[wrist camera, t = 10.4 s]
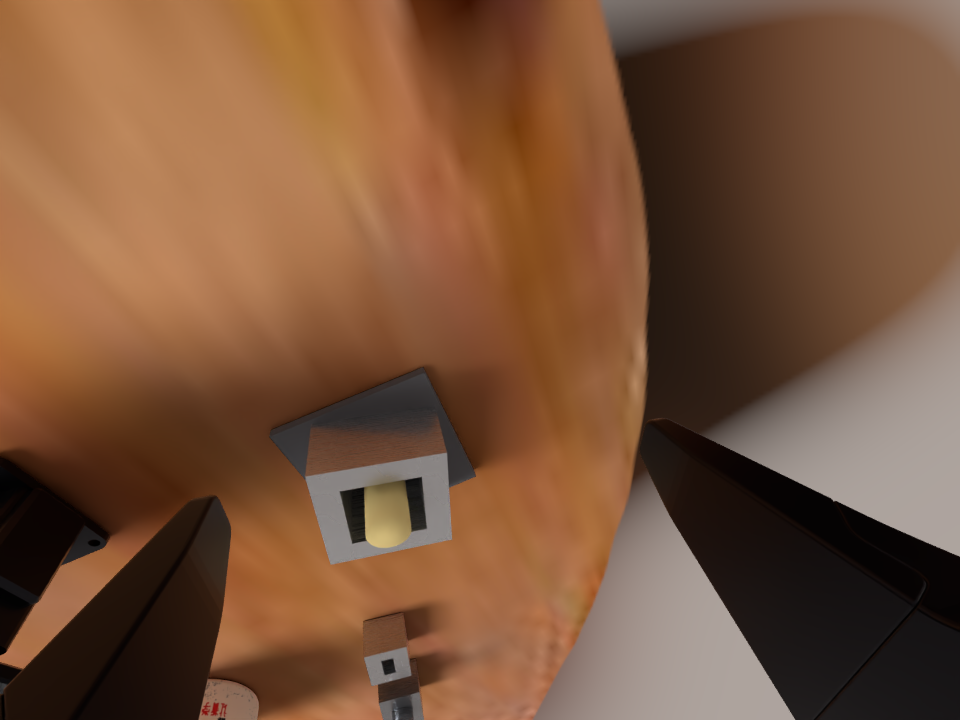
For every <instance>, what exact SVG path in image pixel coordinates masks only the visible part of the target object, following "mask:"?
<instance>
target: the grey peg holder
mask: <svg viewBox="0 0 960 720" xmlns="http://www.w3.org/2000/svg"><path fill="white" fill-rule="evenodd" d="M429 406H435V408H436V412H437V416H438V420H439V424H440V428H441V432H442V435H443V439H444V443H445V447H446V451H447V463H448V480H449V487H452V486H454V485H457V484H459V483H461V482H464V481H466V480H468V479H471V478H473V477H476V475H475V472H474V469H473V467H472V465H471V463H470V461H469V459H468V457H467V455H466V453H465V451H464V449H463V447H462V445H461V443H460V441H459V439H458V437H457V435H456V433H455V431H454V428H453V426H452V424H451V422H450V420H449V418H448V416H447V414H446V412H445V410H444V408H443V406H442V404H441V402H440V400H439V398H438V396H437V394H436V392H435V390H434V388H433V386H432V384H431V382H430V380H429V378H428V376H427V374H426V372H425V370H424V368H423V367H422V368H420V369H417V370H415V371H413V372H410V373H408V374H405V375H403V376H401V377H398V378H396V379H393V380H391V381H389V382H386V383H384V384H381V385H379V386H376V387H374V388H372V389H369V390H367V391H364V392H362V393H360V394H357V395H355V396H352V397H350V398H347V399H345V400H343V401H340V402H338V403H335V404H333V405H331V406H328V407H326V408H323V409H321V410H318V411H316V412H314V413H311V414H309V415H306V416H304V417H302V418H299V419H297V420H294V421H292V422H290V423H287V424H285V425H282V426H280V427H277V428H275V429H273V430H271V432H270V436H269V437H270V438H271V440H272V441H273V442H274V443H275V444H276V446H277V447H278V448H279V449H280V450H281V451H282V453H283V454H284V455H285V456H286V457H287V459H288V460H289V461H290V462H291V463H292V465H293V466H294V467H295V468H296V469H297V471H298V472H299V473H300V474H301V475H302V476H303V478H304V479H305V480H306V478H305V473H306V464H307V456H308V447H309V439H310V430H311V424H315V423H321V422H328V421H335V420H342V419H348V418H355V417H362V416H369V415H375V414H382V413H389V412H396V411H402V410H409V409H416V408H423V407H429ZM364 501H365V535H366V540H367V541H368V542H369V543H370V544H371V545H373V546H375V547H379V548H389V547H394V546H397V545H399V544H401V543H403V542H404V541H406V540H407V539H408V537H409V536H410V534H411V530H412V529H411V521H410V514H409V506H408V499H407V491H406V483H405V480H401V481H396V482H390V483H384V484H379V485H373V486H368V487H364Z"/></svg>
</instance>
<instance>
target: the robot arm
mask: <svg viewBox="0 0 960 720" xmlns="http://www.w3.org/2000/svg"><path fill="white" fill-rule="evenodd" d="M640 454H641V458H642V460H643V462H644V464H645V466H646V468H647V470H648V472H649V474H650V476H651V479H652V481H653V483H654V485H655V487H656V489H657V491H658V493H659V495H660V497H661V499H662V501H663V503H664V505H665V507H666V509H667V511H668V513H669V515H670V517H671V518H672V520H673V522H674V524H675V525H676V527H677V529H678V530H679V532H680V533H681V535H682V537H683V538H684V540H685V542H686V543H687V545H688V546H689V548H690V550H691V551H692V553H693V555H694V556H695V558H696V559H697V561H698V563H699V564H700V566H701V567H702V569H703V571H704V572H705V574H706V576H707V577H708V579H709V581H710V582H711V583H712V585H713V587H714V589H715V590H716V592H717V593H718V595H719V597H720V598H721V600H722V601H723V603H724V605H725V606H726V608H727V610H728V611H729V613H730V615H731V616H732V618H733V619H734V621H735V623H736V624H737V626H738V627H739V629H740V631H741V632H742V634H743V636H744V637H745V639H746V641H747V642H748V644H749V645H750V647H751V649H752V650H753V652H754V653H755V655H756V657H757V658H758V660H759V661H760V663H761V665H762V666H763V668H764V670H765V671H766V673H767V675H768V676H769V678H770V679H771V681H772V683H773V684H774V686H775V688H776V689H777V691H778V692H779V694H780V696H781V697H782V699H783V701H784V702H785V704H786V705H787V707H788V708H789V710H790V712H791V713H792V715H793V717H794V718H795V720H960V557H959V556H957V555H954V554H952V553H950V552H947V551H945V550H943V549H940V548H938V547H936V546H933V545H931V544H929V543H926V542H924V541H922V540H919V539H917V538H915V537H913V536H910V535H908V534H906V533H903V532H901V531H899V530H897V529H894V528H892V527H890V526H888V525H885V524H883V523H881V522H879V521H877V520H875V519H873V518H870V517H868V516H866V515H864V514H862V513H860V512H858V511H856V510H854V509H852V508H849V507H847V506H846V505H843V504H841V503H839V502H837V501H834V502H833V500H832V499H831V498H829V497H827V496H825V495H823V494H821V493H819V492H816V491H814V490H812V489H810V488H808V487H806V486H804V485H802V484H800V483H798V482H796V481H794V480H792V479H790V478H788V477H786V476H784V475H781V474H780V473H777V472H776V471H773V470H771V469H769V468H767V467H765V466H763V465H761V464H759V463H757V462H755V461H753V460H751V459H749V458H747V457H745V456H743V455H740V454H738V453H736V452H734V451H732V450H730V449H728V448H726V447H724V446H722V445H720V444H717V443H716V442H714V441H712V440H709V439H708V438H706V437H704V436H702V435H699V434H697V433H695V432H693V431H691V430H689V429H687V428H685V427H683V426H681V425H679V424H677V423H675V422H673V421H671V420H669V419H666V418H659V419H653V420H649V421H648V422H647V423H646V424H645V427H644V432H643V436H642V440H641V444H640ZM109 538H110V535H109V533H108V532H106V531H105V530H104V529H102V528H101V527H99V526H98V525H97V524H95V523H94V522H92V521H91V520H90V519H88V518H87V517H86V516H84V515H83V514H81V513H80V512H79V511H77V510H76V509H75V508H73V507H72V506H70V505H69V504H68V503H66V502H65V501H63V500H62V499H61V498H59V497H58V496H57V495H55V494H54V493H52V492H51V491H50V490H48V489H47V488H45V487H44V486H43V485H41V484H40V483H39V482H37V481H36V480H34V479H33V478H32V477H30V476H29V475H27V474H26V473H25V472H23V471H22V470H21V469H19V468H18V467H16V466H15V465H14V464H12V463H11V462H9V461H8V460H6V459H3V458H0V655H2V654H4V653H6V652H7V650H8V648H9V647H10V645H11V644H12V642H13V640H14V639H15V637H16V635H17V634H18V632H19V630H20V629H21V627H22V625H23V624H24V622H25V620H26V619H27V617H28V615H29V614H30V612H31V610H32V609H33V607H34V605H35V604H36V603H37V602H38V601H39V600H40V599H41V598H42V596H43V594H44V593H45V591H46V589H47V588H48V586H49V584H50V583H51V581H52V579H53V578H54V576H55V574H56V573H57V571H58V569H59V568H60V566H61V565H64V564H66V563H68V562H71V561H73V560H76V559H78V558H80V557H83V556H85V555H88V554H90V553H92V552H95V551H97V550H100V549H102V548H104V547H105V546H106V544H107V542H108V540H109ZM230 540H231V527H230V523H229V520H228V518H227V516H226V514H225V511H224V509H223V507H222V505H221V502H220V500H219V499H218V497H217V496H215V495H209V496H203V497H198V498H193V499H191V500H190V501H188V502H187V503H186V504H185V505H184V506H183V507H182V508H181V509H180V510H179V511H178V512H177V513H176V514H175V515H174V516H173V517H172V518H171V519H170V520H169V521H168V523H167V524H166V525H165V526H164V527H163V528H162V529H161V530H160V531H159V532H158V533H157V534H156V535H155V536H154V537H153V538H152V539H151V540H150V541H149V542H148V543H147V544H146V545H145V546H144V547H143V548H142V549H141V550H140V551H139V552H138V553H137V554H136V555H135V556H134V557H133V558H132V559H131V560H130V561H129V562H128V563H127V564H126V565H125V566H124V567H123V568H122V569H121V570H120V571H119V572H118V573H117V574H116V575H115V576H114V577H113V578H112V579H111V580H110V581H109V582H108V583H107V584H106V586H105V587H104V588H103V589H102V590H101V591H100V592H99V593H98V594H97V595H96V596H95V597H94V598H93V599H92V600H91V601H90V602H89V603H88V604H87V605H86V606H85V607H84V608H83V609H82V610H81V611H80V612H79V613H78V614H77V615H76V616H75V617H74V618H73V619H72V620H71V621H70V622H69V623H68V624H67V625H66V626H65V627H64V628H63V629H62V630H61V631H60V632H59V633H58V634H57V635H56V636H55V637H54V638H53V639H52V640H51V641H50V642H49V643H48V644H47V645H46V646H45V647H44V649H43V650H42V651H41V652H40V653H39V654H38V655H37V656H36V657H35V658H34V659H33V660H32V661H31V662H30V663H29V664H28V665H27V666H26V667H25V668H24V669H22V668H18V667H15V666H12V665H8V664H5V663H2V662H0V720H199V716H200V712H201V707H202V703H203V698H204V694H205V690H206V685H207V681H208V676H209V672H210V667H211V663H212V659H213V654H214V650H215V645H216V641H217V637H218V632H219V628H220V623H221V617H222V611H223V604H224V595H225V586H226V577H227V567H228V558H229V549H230Z"/></svg>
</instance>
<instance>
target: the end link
mask: <svg viewBox="0 0 960 720" xmlns="http://www.w3.org/2000/svg"><path fill="white" fill-rule="evenodd" d="M305 478H306V482H307V485H308V489H309V492H310V496H311V499H312V502H313V506H314V509H315V513H316V516H317V520H318V523H319V526H320V530H321V533H322V537H323V540H324V544H325V547H326V550H327V554H328V557H329V561H330V564H336V563H341V562H346V561H351V560H355V559H360V558H365V557H370V556H375V555H379V554H384V553H389V552H394V551H399V550H403V549H408V548H413V547H418V546H423V545H427V544H432V543H437V542H442V541H447V540H451V539H452V532H451V515H450V498H449V480H448V463H447V451H446V447H445V443H444V439H443V435H442V432H441V428H440V424H439V420H438V416H437V412H436V408H435V406H429V407H423V408H416V409H409V410H402V411H396V412H389V413H382V414H375V415H369V416H362V417H355V418H348V419H342V420H335V421H328V422H321V423H315V424H311V430H310V439H309V447H308V456H307V464H306V473H305ZM401 480H405V483H406V491H407V499H408V506H409V514H410V521H411V529H412V530H411V534H410V536H409V537H408V539H407V540H406V541H404V542H403V543H401V544H399V545H397V546H394V547H389V548H379V547H375V546H373V545H371V544H370V543H369V542H368V541H367V540H366V535H365V501H364V487H368V486H373V485H379V484H384V483H390V482H396V481H401Z"/></svg>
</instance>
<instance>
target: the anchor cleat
mask: <svg viewBox="0 0 960 720" xmlns="http://www.w3.org/2000/svg"><path fill="white" fill-rule="evenodd" d="M410 666H411V676H408V677H404V678H401V679H397V680H393V681H389V682H385V683H382V684H378V694H379V705H380V709H381V713H382V716H383V720H424V716H423V707H422V698H421V690H420V683H419V676H418V670H417V664H416V659H412V660H410Z"/></svg>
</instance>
